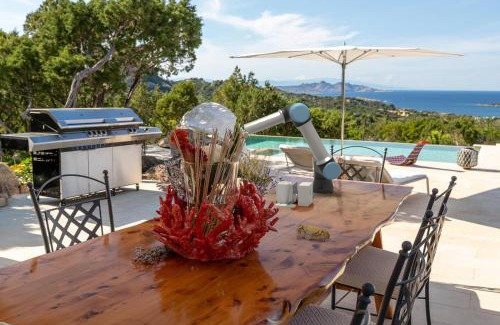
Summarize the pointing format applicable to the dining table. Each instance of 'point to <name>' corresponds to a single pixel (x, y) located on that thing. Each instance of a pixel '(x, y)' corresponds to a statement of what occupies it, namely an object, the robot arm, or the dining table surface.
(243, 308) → the dining table surface
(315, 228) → the crab model
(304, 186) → the gauge housing
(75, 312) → the dining table surface
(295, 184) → the gauge plunger
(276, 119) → the robot arm
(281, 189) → the candle holder
